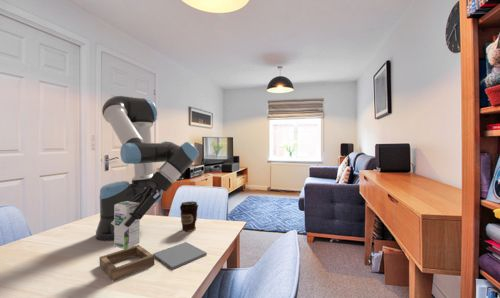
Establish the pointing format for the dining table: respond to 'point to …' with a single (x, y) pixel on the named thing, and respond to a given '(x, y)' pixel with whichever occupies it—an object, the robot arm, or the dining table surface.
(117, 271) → the walnut holder
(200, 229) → the dining table surface
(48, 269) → the dining table surface
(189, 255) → the rubber mat
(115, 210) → the syrup box
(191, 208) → the coffee cup
